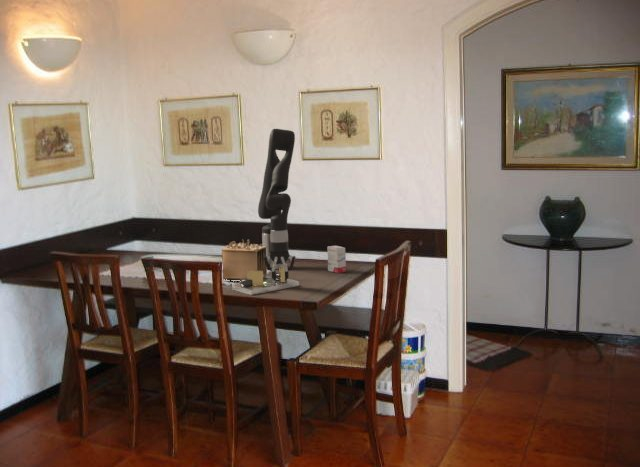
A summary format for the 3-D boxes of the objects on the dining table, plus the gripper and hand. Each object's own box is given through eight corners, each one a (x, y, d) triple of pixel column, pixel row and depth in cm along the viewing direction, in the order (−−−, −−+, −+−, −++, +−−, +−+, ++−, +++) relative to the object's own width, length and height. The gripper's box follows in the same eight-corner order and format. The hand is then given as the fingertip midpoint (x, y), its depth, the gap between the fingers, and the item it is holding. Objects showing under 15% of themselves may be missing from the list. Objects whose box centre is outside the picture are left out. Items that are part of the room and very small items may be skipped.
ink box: (346, 272, 343) (346, 247, 341) (337, 273, 340) (337, 248, 339) (336, 269, 350) (335, 245, 349) (327, 270, 348) (326, 246, 346)
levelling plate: (231, 289, 310) (231, 278, 310) (278, 280, 326) (278, 270, 326) (251, 294, 299) (251, 283, 299) (299, 285, 315) (298, 275, 315)
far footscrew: (274, 278, 321) (274, 264, 320) (286, 277, 322) (286, 264, 321) (276, 282, 312) (276, 268, 311) (289, 281, 313) (288, 268, 312)
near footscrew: (240, 286, 305) (239, 272, 304) (241, 283, 310) (241, 270, 309) (262, 286, 305) (262, 272, 304) (263, 283, 310) (263, 269, 309)
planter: (221, 287, 315) (221, 244, 312) (213, 276, 338) (213, 236, 336) (278, 285, 322) (278, 242, 319) (266, 274, 345) (266, 234, 343)
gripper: (296, 238, 315) (297, 278, 317) (263, 239, 316) (265, 278, 318) (295, 241, 307) (296, 281, 310) (261, 241, 308) (262, 281, 311)
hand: (280, 279), depth 314 cm, fingers open, 4 cm apart
